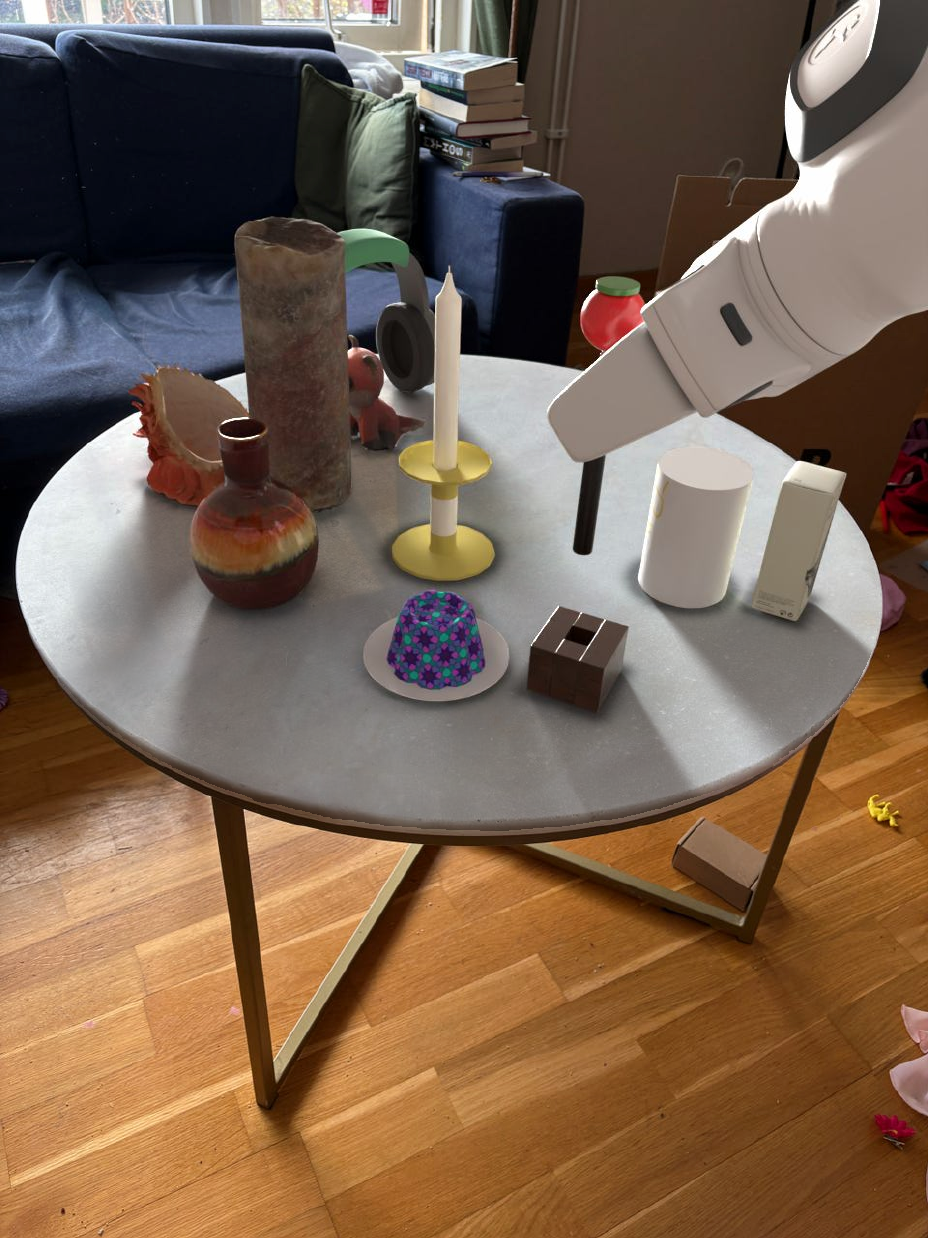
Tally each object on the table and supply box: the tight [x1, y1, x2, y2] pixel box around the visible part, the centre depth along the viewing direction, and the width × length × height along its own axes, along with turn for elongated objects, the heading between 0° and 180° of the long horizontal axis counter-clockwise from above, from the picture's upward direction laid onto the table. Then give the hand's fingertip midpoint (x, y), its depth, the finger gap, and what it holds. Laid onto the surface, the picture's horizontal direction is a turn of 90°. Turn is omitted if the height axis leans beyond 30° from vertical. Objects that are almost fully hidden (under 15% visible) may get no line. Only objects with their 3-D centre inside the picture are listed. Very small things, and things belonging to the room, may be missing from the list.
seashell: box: [128, 362, 249, 506], centre depth 100 cm, size 17×11×15 cm
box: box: [750, 460, 847, 622], centre depth 82 cm, size 5×4×13 cm
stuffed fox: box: [347, 334, 428, 452], centre depth 106 cm, size 8×11×12 cm
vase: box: [189, 418, 320, 611], centre depth 81 cm, size 11×11×15 cm
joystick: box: [572, 275, 646, 556], centre depth 61 cm, size 4×4×19 cm
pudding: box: [362, 589, 511, 702], centre depth 76 cm, size 12×12×5 cm
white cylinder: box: [637, 445, 755, 609], centre depth 84 cm, size 8×8×12 cm
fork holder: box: [526, 605, 630, 714], centre depth 75 cm, size 6×6×4 cm
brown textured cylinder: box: [234, 216, 353, 513], centre depth 90 cm, size 10×10×27 cm
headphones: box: [337, 228, 436, 393], centre depth 114 cm, size 19×11×20 cm, turn 126°
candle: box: [391, 265, 496, 582], centre depth 83 cm, size 10×10×27 cm
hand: (591, 424), depth 61 cm, fingers closed on joystick
